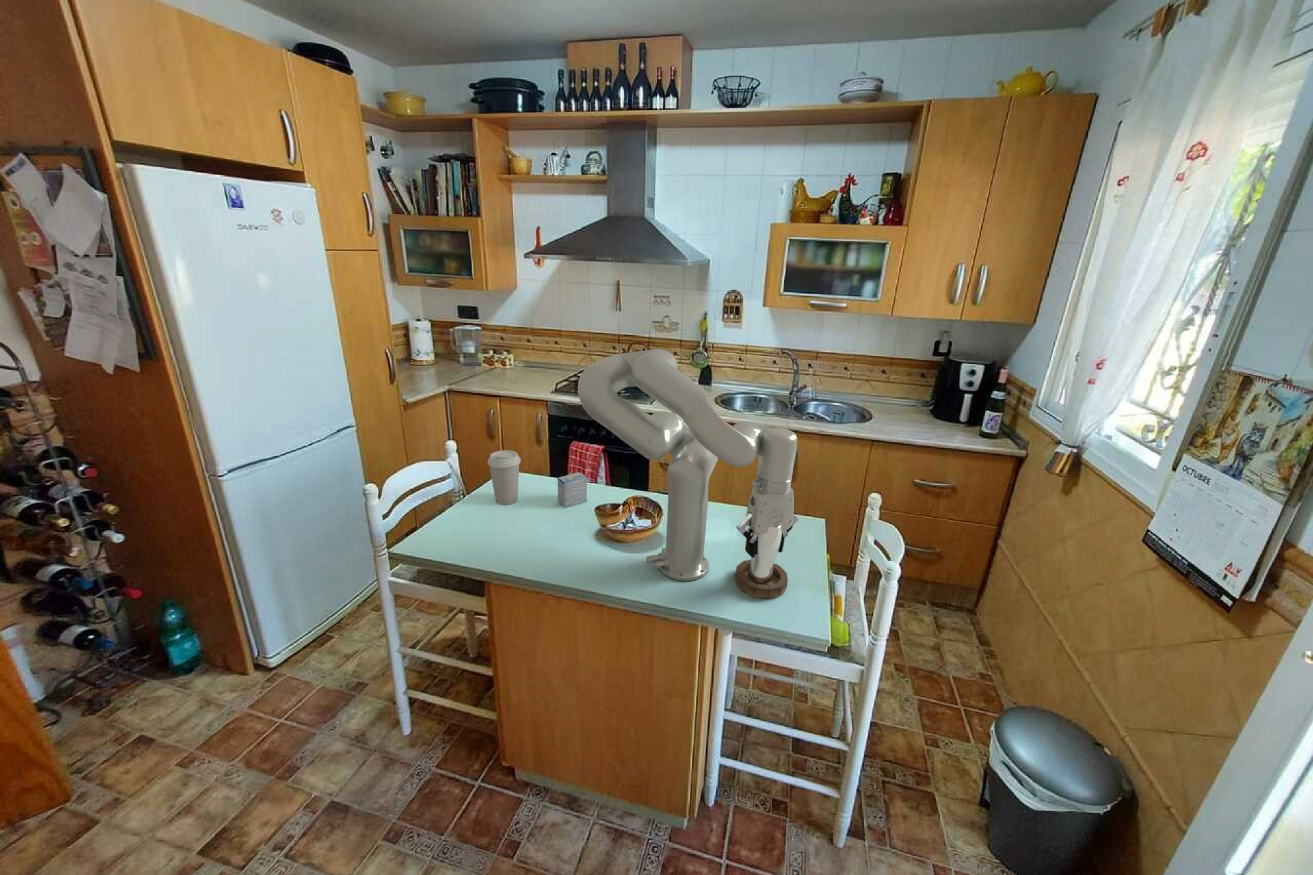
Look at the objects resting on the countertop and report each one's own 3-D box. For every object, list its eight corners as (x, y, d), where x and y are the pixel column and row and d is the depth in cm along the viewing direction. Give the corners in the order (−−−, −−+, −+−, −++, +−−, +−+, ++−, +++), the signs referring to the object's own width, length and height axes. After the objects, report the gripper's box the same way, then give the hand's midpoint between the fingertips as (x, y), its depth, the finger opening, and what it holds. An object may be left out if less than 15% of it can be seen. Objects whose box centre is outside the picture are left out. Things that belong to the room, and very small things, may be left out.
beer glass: (775, 586, 120) (784, 530, 115) (745, 581, 121) (752, 525, 116) (775, 569, 126) (783, 515, 121) (746, 565, 127) (753, 511, 122)
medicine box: (579, 496, 164) (579, 471, 161) (587, 501, 160) (587, 476, 157) (557, 503, 159) (557, 477, 156) (565, 508, 156) (564, 482, 153)
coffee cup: (484, 500, 158) (480, 454, 153) (510, 490, 165) (508, 446, 160) (502, 510, 153) (499, 463, 148) (528, 500, 160) (526, 455, 155)
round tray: (751, 603, 117) (753, 593, 116) (726, 573, 127) (727, 563, 127) (796, 593, 121) (797, 583, 120) (768, 565, 132) (769, 555, 131)
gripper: (748, 494, 109) (739, 566, 115) (815, 485, 115) (804, 554, 121) (731, 480, 116) (723, 549, 122) (795, 472, 122) (785, 538, 128)
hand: (763, 551), depth 121 cm, fingers closed on beer glass, 6 cm apart
